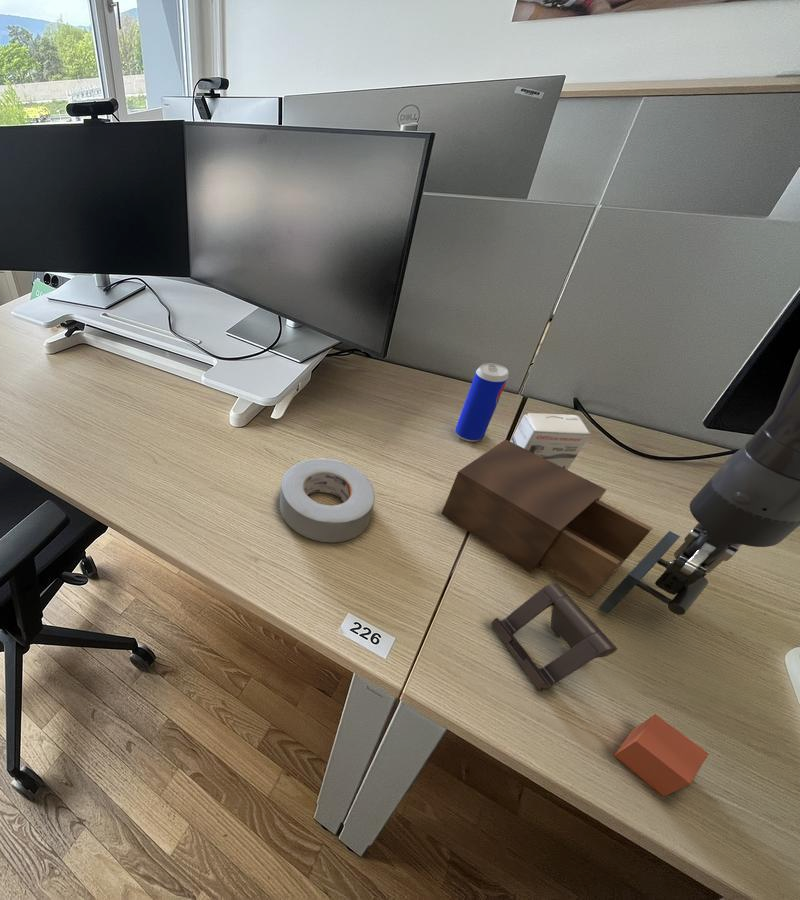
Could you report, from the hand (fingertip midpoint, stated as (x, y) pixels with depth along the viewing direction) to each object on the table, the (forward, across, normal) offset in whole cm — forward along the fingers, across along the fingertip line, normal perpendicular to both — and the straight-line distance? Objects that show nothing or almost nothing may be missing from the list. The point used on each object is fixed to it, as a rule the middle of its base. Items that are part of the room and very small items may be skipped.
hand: (666, 587), depth 59 cm
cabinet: (+5, 0, +19) cm, 20 cm away
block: (+5, -20, -8) cm, 22 cm away
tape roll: (+5, -21, +39) cm, 45 cm away
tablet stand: (+5, -17, +5) cm, 18 cm away
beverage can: (+5, +16, +36) cm, 40 cm away
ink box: (+5, +14, +23) cm, 27 cm away
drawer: (+4, 0, +7) cm, 8 cm away
